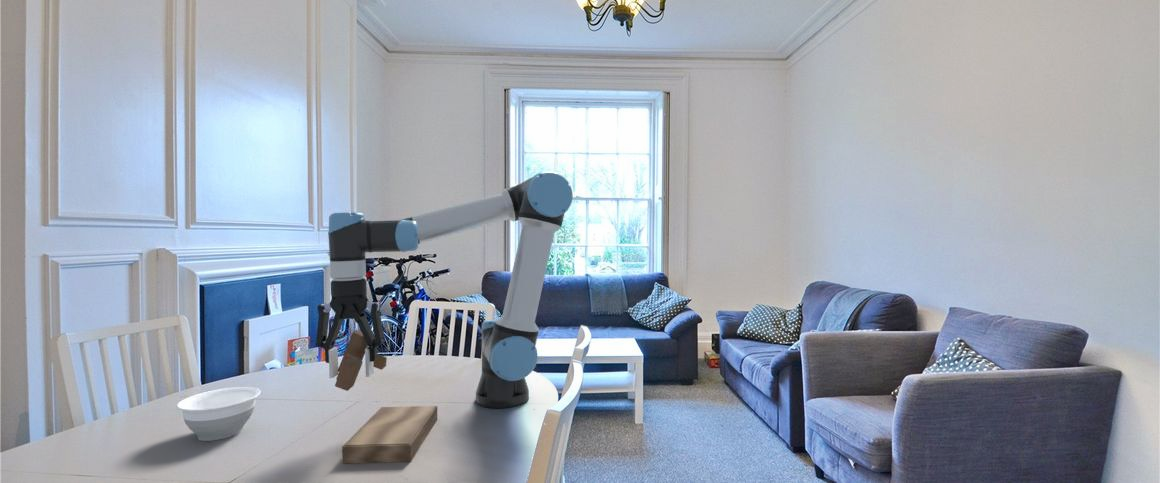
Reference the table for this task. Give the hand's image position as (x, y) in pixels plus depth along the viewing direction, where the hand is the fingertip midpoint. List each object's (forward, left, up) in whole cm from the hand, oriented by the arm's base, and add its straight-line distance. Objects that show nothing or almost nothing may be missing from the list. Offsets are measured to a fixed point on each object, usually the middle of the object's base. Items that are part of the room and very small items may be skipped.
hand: (352, 375), depth 109 cm
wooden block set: (-1, 0, -1) cm, 1 cm away
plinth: (-10, +2, -14) cm, 18 cm away
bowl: (+33, -4, -15) cm, 36 cm away
